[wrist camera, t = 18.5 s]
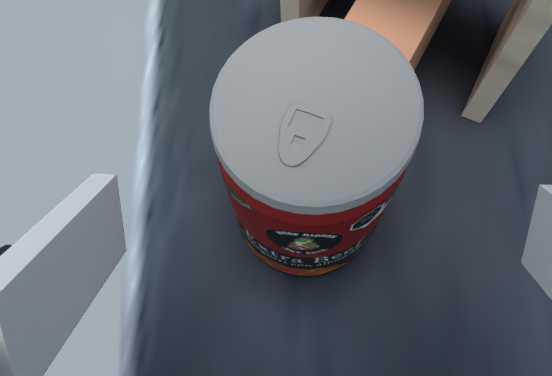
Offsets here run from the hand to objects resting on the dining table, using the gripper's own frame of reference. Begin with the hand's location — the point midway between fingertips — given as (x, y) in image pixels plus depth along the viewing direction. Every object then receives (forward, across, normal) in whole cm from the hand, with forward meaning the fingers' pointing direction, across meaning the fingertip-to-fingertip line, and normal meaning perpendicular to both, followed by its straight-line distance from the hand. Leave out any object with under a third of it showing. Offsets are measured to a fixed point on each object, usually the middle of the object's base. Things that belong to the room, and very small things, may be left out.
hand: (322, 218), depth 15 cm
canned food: (+11, 0, +5) cm, 12 cm away
